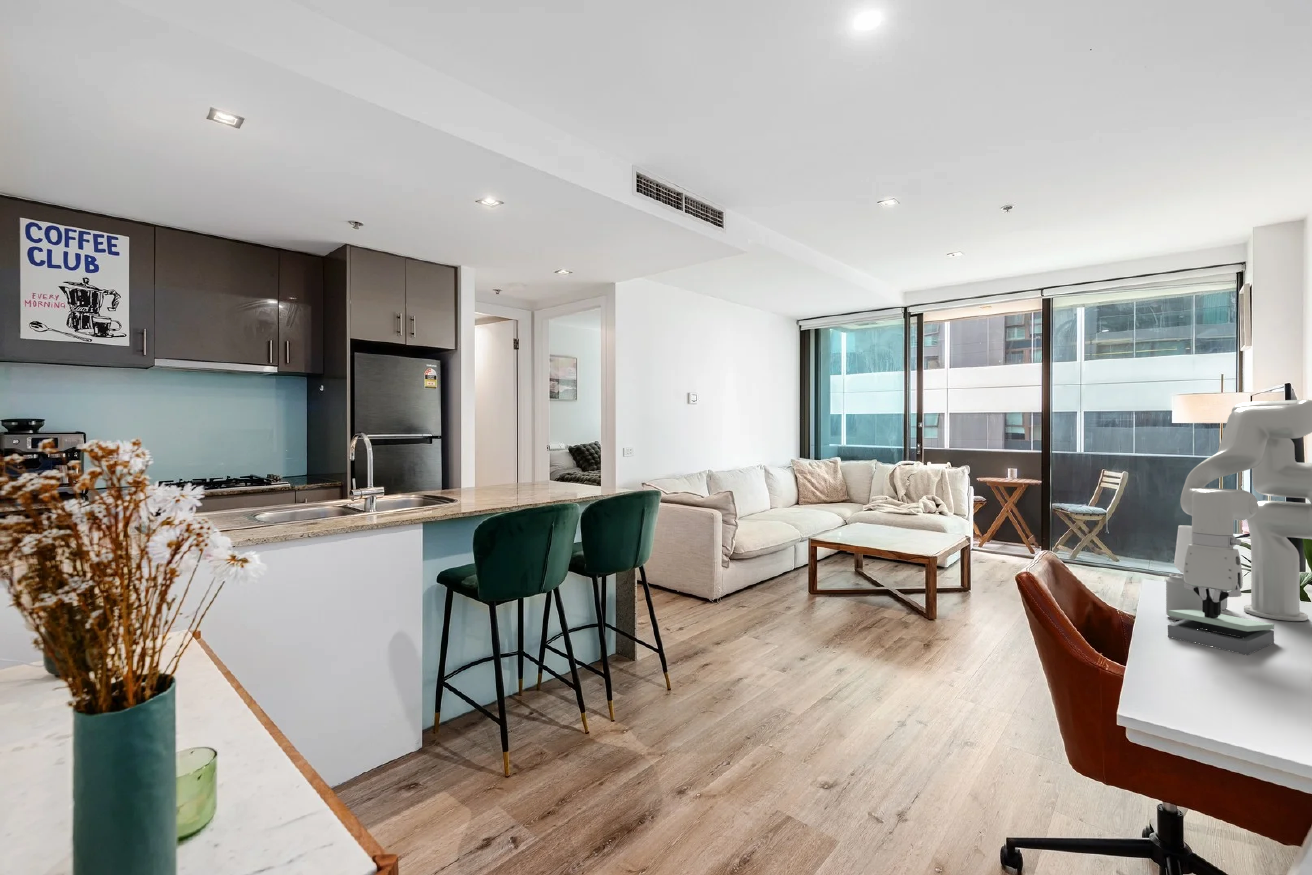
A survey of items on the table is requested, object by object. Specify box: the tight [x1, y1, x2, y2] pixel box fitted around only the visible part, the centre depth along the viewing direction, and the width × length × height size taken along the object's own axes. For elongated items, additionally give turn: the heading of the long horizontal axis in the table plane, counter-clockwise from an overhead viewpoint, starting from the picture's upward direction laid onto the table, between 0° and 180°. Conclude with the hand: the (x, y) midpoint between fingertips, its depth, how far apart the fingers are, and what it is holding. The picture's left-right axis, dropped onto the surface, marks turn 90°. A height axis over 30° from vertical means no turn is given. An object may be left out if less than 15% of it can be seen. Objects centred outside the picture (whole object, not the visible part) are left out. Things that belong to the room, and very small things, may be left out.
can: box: [1165, 573, 1202, 621], centre depth 169 cm, size 8×8×12 cm
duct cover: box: [1167, 609, 1275, 631], centre depth 153 cm, size 16×15×1 cm
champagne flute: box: [1173, 524, 1192, 574], centre depth 178 cm, size 7×7×24 cm
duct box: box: [1167, 619, 1275, 656], centre depth 153 cm, size 16×15×3 cm
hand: (1211, 616), depth 151 cm, fingers closed
